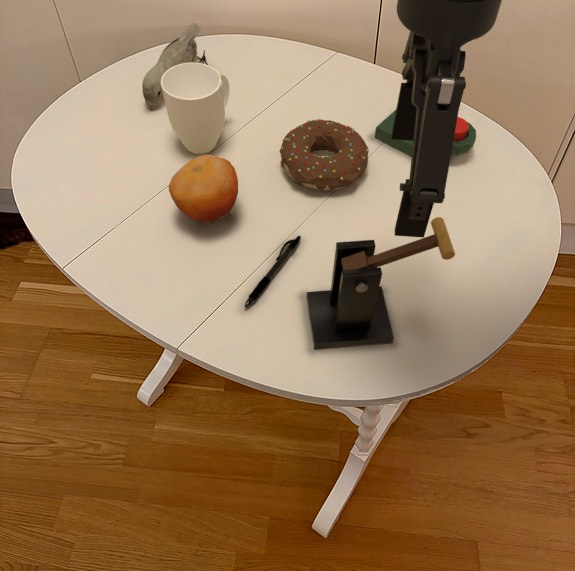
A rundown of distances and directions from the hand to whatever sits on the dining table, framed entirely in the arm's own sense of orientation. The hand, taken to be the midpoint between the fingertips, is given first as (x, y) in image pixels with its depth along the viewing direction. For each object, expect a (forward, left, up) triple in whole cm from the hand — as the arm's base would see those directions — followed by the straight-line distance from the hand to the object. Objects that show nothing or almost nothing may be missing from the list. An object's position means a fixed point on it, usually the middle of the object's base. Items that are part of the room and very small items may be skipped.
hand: (406, 182), depth 60 cm
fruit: (+28, +2, -23) cm, 37 cm away
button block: (+12, -33, -23) cm, 42 cm away
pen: (+14, +4, -23) cm, 27 cm away
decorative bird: (+54, -17, -23) cm, 61 cm away
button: (+8, -33, -19) cm, 39 cm away
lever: (-1, 0, -11) cm, 11 cm away
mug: (+40, -10, -23) cm, 47 cm away
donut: (+21, -17, -23) cm, 36 cm away
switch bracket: (+2, +4, -23) cm, 23 cm away
